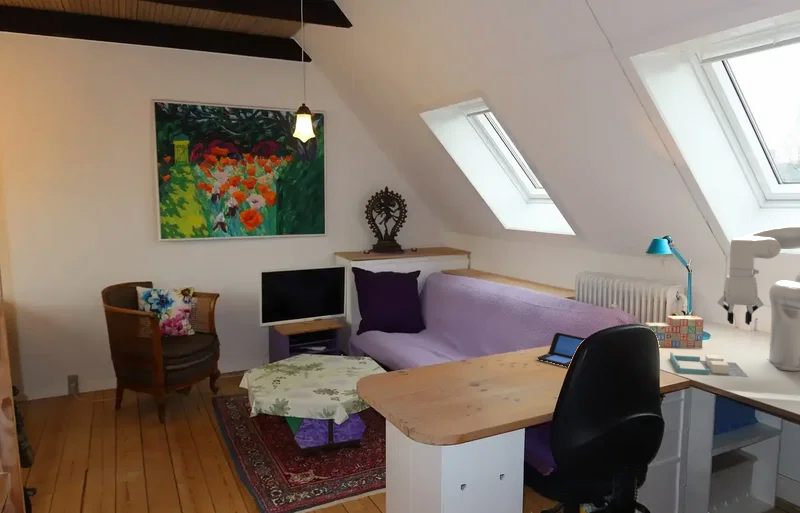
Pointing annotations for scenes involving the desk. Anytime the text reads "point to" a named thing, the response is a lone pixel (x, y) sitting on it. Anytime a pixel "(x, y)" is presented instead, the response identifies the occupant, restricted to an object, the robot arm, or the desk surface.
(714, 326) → the desk surface
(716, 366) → the off-white rectangular block
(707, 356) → the tile
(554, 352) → the handheld game console
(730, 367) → the plate
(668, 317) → the stack of blocks
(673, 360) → the box
